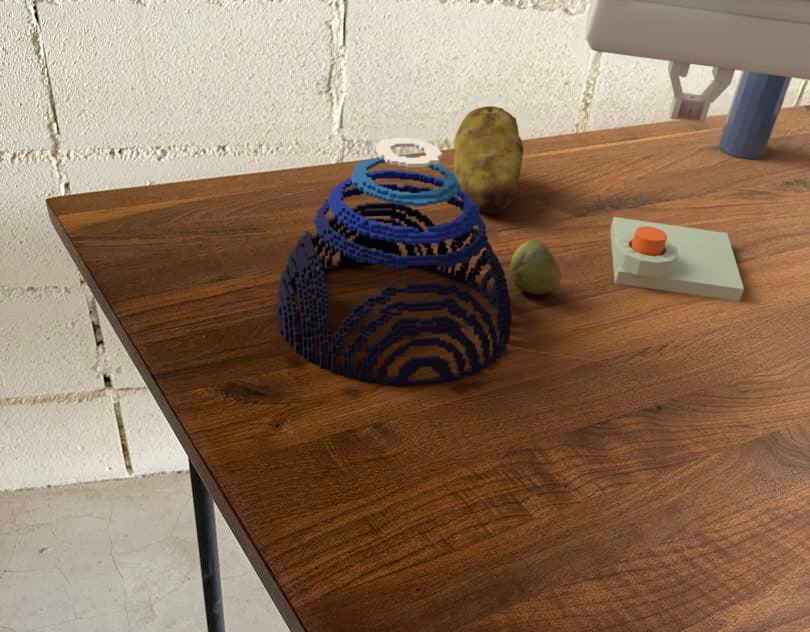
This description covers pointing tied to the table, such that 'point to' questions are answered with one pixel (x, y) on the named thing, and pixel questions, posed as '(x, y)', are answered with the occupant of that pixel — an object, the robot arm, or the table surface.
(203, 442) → the table surface
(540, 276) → the green mango
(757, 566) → the table surface
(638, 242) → the tare button
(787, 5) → the robot arm
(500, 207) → the potato
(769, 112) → the cup
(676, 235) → the scale
